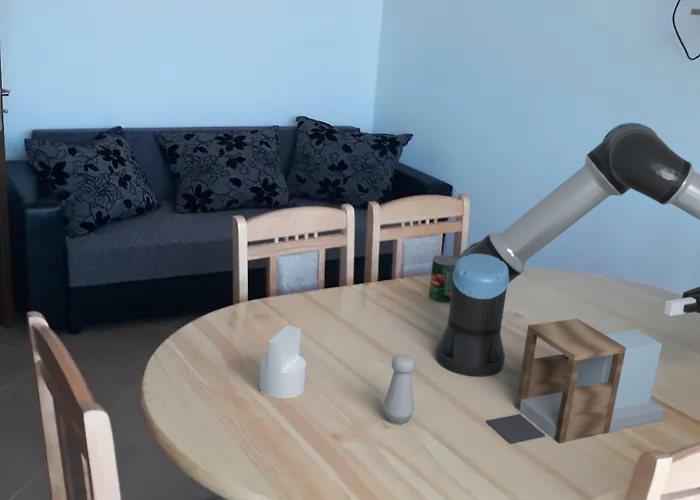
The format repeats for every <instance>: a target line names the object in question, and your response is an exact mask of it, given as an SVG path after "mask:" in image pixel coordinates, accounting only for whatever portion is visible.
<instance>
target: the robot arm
mask: <svg viewBox="0 0 700 500" xmlns="http://www.w3.org/2000/svg"><path fill="white" fill-rule="evenodd" d="M693 167H694V166H693V164H692V162H690V161H688V160H686V159H684V158H683V157H681V156H679V155H678V154H677V153H676V152H675V151H674V150H673V149H671V148H670V147H669V146H668V144H666V143H665V142H664V140H662V139H661V137H659V136H658V134H657V132H656V131H654V130H653V129H652V128H651V127H649V126H647V125H646V124H642V123H639V122H623V123H621V124H618V125H616V126H615V127H613V128H612V129H610V130H609V131H608V132H607V134H605V136H604V137H603V139H602V142H600V143H599V144H598V145H596V147H594V148H593V149H592V150H591V151H590V152H588V153H587V154H586V155H585V161H584V165H583V166H582V167H581V168H579V169H578V170H577V171H575V173H573V174H572V175H571V176H569V177H568V178H567V179H566V180H565V181H563V182H562V183H561V184H559V186H557V187H556V188H555V189H554V190H552V191H551V192H550V193H549V194H547V195H546V196H544V197H543V198H542V199H541V200H539V202H538V203H536V204H535V205H534V206H532V207H531V208H530V209H529V210H527V211H526V212H525V213H524V214H523V215H521V216H520V217H519V218H518V219H517V220H515V221H514V222H512V223H511V224H510V225H509V226H508V227H506V228H505V229H504V230H503V231H502V232H490V233H489V234H488V235H486V236H485V237H484V238H483V239H481V240H480V241H476V242H473V243H471V244H470V245H468V246H467V247H466V248H465V249H464V250H462V252H461V254H460V255H459V257H458V258H459V259H458V261H457V262H456V265H455V268H454V271H453V284H452V293H451V301H450V304H449V308H448V319H447V325H446V327H445V329H444V332H443V333H442V335H441V337H440V340H439V341H438V344H437V346H436V351H435V353H436V354H435V359H436V361H437V362H438V364H439V365H441V366H442V367H444V368H445V369H447V370H449V371H451V372H453V373H456V374H461V375H465V376H472V377H487V376H492V375H495V374H498V373H500V372H501V371H502V370H503V368H504V364H505V358H506V357H505V351H504V346H503V339H502V336H501V330H502V323H503V317H504V309H505V302H506V298H507V289H508V285H509V283H511V282H512V281H513V280H514V279H516V278H517V277H518V276H520V275H521V274H522V273H523V272H524V269H525V263H526V262H527V261H528V260H530V258H532V257H534V255H536V254H537V253H538V252H539V251H541V250H542V249H544V247H546V246H547V245H549V244H550V243H551V242H552V241H554V240H555V239H557V237H559V236H560V235H561V234H562V233H564V232H565V231H566V230H567V229H569V228H570V227H571V226H573V225H575V224H576V223H577V222H578V221H579V220H581V219H582V218H583V217H585V216H586V215H587V214H588V213H589V212H591V211H592V210H593V209H595V208H596V207H597V206H598V205H600V204H601V203H602V202H604V201H605V200H606V199H608V198H609V197H611V196H623V195H624V194H626V192H629V190H630V189H631V190H633V191H636V192H638V193H640V194H642V195H644V196H646V197H648V198H650V199H652V200H653V201H655V202H656V203H658V204H660V205H670V204H671V205H673V206H675V207H677V208H678V209H680V210H681V211H683V212H685V213H687V214H688V215H690V216H691V217H694V218H695V219H697V220H699V221H700V174H699V173H697V171H694V169H693ZM663 313H664V314H665V315H666V316H669V317H673V316H679V315H685V314H690V313H697V314H700V286H697V287H695V288H693V289H692V288H691V289H689V290H686V291H683V293H682V298H677V299H671V300H666V302H665V306H664V312H663Z"/></svg>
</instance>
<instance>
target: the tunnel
mask: <svg viewBox="0 0 700 500" xmlns="http://www.w3.org/2000/svg"><path fill="white" fill-rule="evenodd" d="M604 334H605V333H602V332H600V331H599V330H597V329H595V328H594V327H592V326H590V325H589V324H587V322H584V321H582V320H581V319H579V318H572V319H571V318H570V319H566V320H564V319H563V320H557V321H549V322H542V323H535V324H534V323H533V324H528V325H527V331H526V338H525V343H524V351H523V356H522V362H521V363H522V364H521V369H520V376H519V382H518V388H517V396H516V399H515V400H516V401H515V407H514V408H515V409H517V410H518V411H519V412H520V405H521V400H523V399H527V398H532V397H538V396H543V395H548V394H554V393H559V392H563V393H562V399H561V404H560V410H559V415H558V421H557V426H556V432H555V438H554V439H553V440H554V441H555V442H557V443H558V444H562V443H563V444H564V443H565V442H569V441H574V440H579V439H584V438H589V437H595V436H598V435H604V434H608V433H610V432H609V429H610V424H611V420H612V415H613V410H614V405H615V400H616V395H617V390H618V385H619V380H620V375H621V371H622V366H623V361H624V356H625V351H626V347H624V346H623V345H621V344H619V343H618V342H616V341H614V340H613V339H611V338H609V337H607V336H606V335H604ZM538 338H539V339H541V340H542V341H543V342H545V343H547V344H548V345H550V346H551V347H552V348H553V349H555V350H557V351H558V352H560V353H562V354H555V355H550V356H543V357H536V358H535V352H536V348H537V347H536V345H537V339H538ZM607 355H613V358H612V363H611V368H610V373H609V378H608V382H604V383H598V384H593V385H587V386H582V387H576V388H575V385H576V380H577V374H578V369H579V363H580V360H582V359H588V358H595V357H601V356H607Z"/></svg>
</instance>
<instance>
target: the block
mask: <svg viewBox="0 0 700 500" xmlns="http://www.w3.org/2000/svg"><path fill="white" fill-rule="evenodd" d="M603 334H604V335H606V336H607V337H609V338H611V339H613V340H614V341H616V342H618V343H619V344H621V345H623V346H624V347H626V351H625V356H624V361H623V366H622V371H621V375H620V380H619V385H618V390H617V395H616V400H615V405H614V409H619V408H624V407H629V406H634V405H639V404H644V403H649V401H650V400H651V395H652V392H653V387H654V383H655V377H656V373H657V368H658V363H659V360H660V355H661V352H662V346H663V343H661V342H659V341H658V340H657V339H654V338H652V337H651V336H649V335H647V334H645V333H643V332H642V331H640V330H639V329H637V328H636V329H630V330H622V331H616V332H609V333H603ZM612 358H613V355H607V356H601V357H595V358H588V359H582V360H580V363H579V369H578V374H577V380H576V385H575V388H576V387H582V386H587V385H593V384H598V383H604V382H608V378H609V373H610V368H611V363H612Z"/></svg>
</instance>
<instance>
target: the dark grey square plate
mask: <svg viewBox="0 0 700 500" xmlns="http://www.w3.org/2000/svg"><path fill="white" fill-rule="evenodd" d="M485 423H486V424H487V425H489V426H490V428H492V429H493V430H494V431H495V432H496V433H497V434H498V435H500V436H501V437H502V439H504V440H505V441H506V442H508V444H510V445H512V444H516V443H522V442H525V441H531V440H535V439H540V438H544V437H546V434H545V433H543V431H541V430H540V428H537V426H535V425H534V424H533V423H531V422H530V421H529V419H528V418H526V417H525V416H523V415H522V414H521V413H518V414H517V413H516V414H511V415H508V416H502V417H495V418H492V419H491V418H490V419H486V420H485Z"/></svg>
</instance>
